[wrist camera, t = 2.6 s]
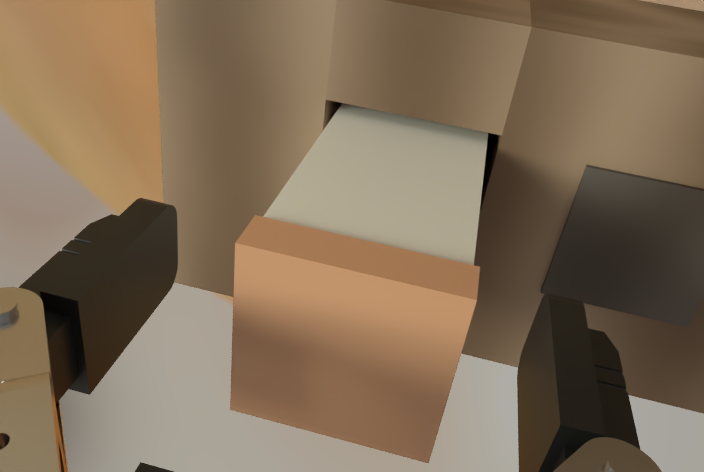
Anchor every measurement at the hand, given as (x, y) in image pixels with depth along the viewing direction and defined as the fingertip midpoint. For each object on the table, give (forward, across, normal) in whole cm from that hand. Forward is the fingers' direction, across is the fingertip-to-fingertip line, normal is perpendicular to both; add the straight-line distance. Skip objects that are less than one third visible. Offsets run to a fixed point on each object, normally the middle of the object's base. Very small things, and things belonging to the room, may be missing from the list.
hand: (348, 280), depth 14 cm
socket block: (+10, -4, 0) cm, 11 cm away
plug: (+11, 0, 0) cm, 11 cm away
